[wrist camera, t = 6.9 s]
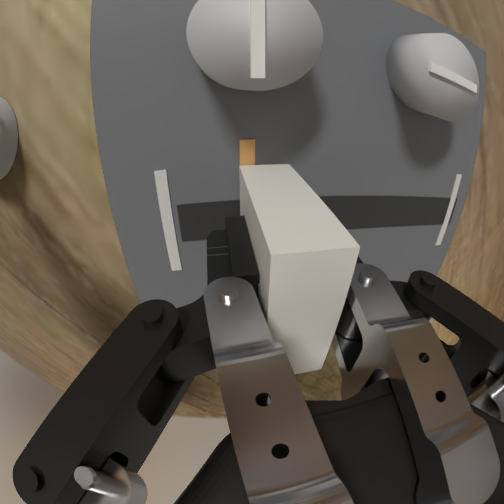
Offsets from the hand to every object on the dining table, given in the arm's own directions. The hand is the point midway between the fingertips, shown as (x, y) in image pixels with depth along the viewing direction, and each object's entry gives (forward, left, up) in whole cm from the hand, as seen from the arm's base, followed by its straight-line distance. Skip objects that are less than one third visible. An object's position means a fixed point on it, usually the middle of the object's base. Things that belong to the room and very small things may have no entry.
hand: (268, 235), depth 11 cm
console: (-3, -2, -3) cm, 5 cm away
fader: (0, 0, -1) cm, 1 cm away
